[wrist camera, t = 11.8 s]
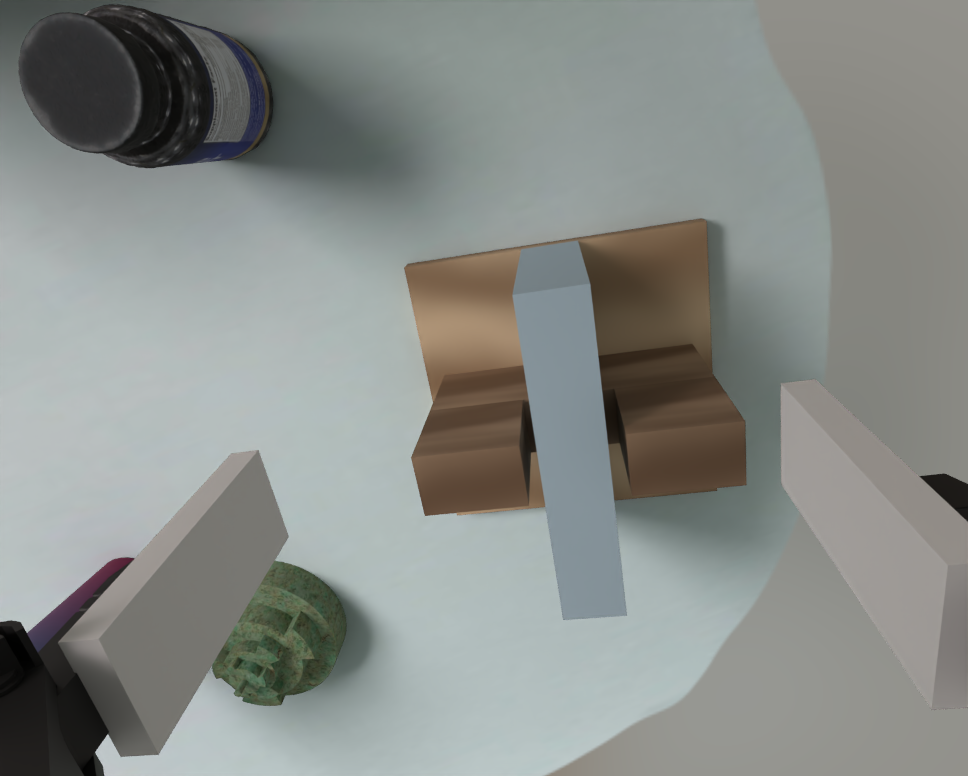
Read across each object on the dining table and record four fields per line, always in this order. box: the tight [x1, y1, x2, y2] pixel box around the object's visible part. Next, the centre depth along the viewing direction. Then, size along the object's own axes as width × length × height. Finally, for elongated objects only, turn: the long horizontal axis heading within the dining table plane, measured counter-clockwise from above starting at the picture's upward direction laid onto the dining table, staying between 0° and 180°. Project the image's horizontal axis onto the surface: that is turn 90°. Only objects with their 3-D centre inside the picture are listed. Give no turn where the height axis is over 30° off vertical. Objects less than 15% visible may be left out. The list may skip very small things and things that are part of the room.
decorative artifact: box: [212, 561, 346, 706], centre depth 43 cm, size 10×7×10 cm
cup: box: [27, 558, 134, 652], centre depth 40 cm, size 7×7×15 cm
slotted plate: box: [512, 240, 627, 620], centre depth 32 cm, size 16×3×10 cm, turn 10°
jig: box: [404, 219, 746, 516], centre depth 32 cm, size 16×16×11 cm
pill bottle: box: [19, 5, 273, 168], centre depth 28 cm, size 6×6×11 cm
